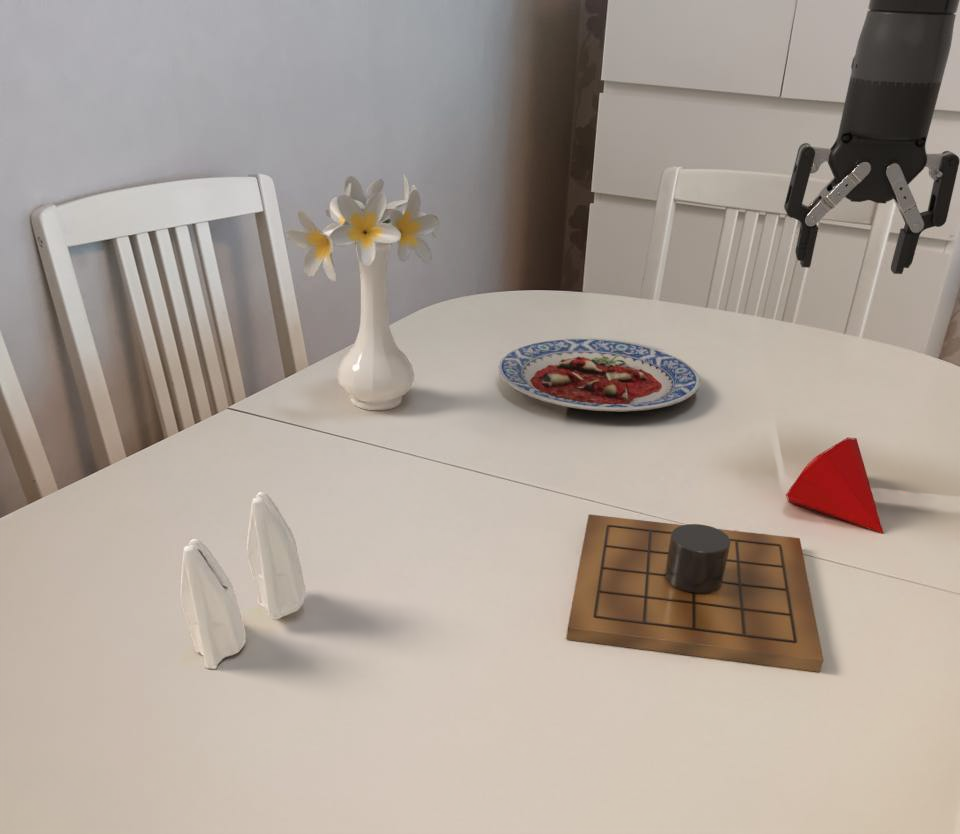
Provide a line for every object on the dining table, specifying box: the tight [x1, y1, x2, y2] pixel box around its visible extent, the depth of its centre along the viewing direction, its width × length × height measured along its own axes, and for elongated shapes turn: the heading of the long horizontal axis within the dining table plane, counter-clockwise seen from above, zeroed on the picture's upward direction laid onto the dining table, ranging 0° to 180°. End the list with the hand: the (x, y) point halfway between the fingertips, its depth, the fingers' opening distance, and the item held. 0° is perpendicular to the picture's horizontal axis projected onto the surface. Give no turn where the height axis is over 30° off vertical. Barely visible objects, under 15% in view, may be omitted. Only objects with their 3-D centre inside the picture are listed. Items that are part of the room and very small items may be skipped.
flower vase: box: [285, 173, 441, 411], centre depth 111 cm, size 13×18×25 cm
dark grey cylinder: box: [665, 523, 731, 593], centre depth 83 cm, size 5×5×4 cm
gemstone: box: [785, 437, 885, 534], centre depth 97 cm, size 9×9×10 cm
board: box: [566, 513, 824, 673], centre depth 85 cm, size 20×20×1 cm
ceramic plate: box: [498, 338, 701, 413], centre depth 125 cm, size 26×26×3 cm
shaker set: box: [179, 491, 307, 670], centre depth 75 cm, size 12×4×11 cm, turn 143°
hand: (850, 269), depth 93 cm, fingers open, 8 cm apart
